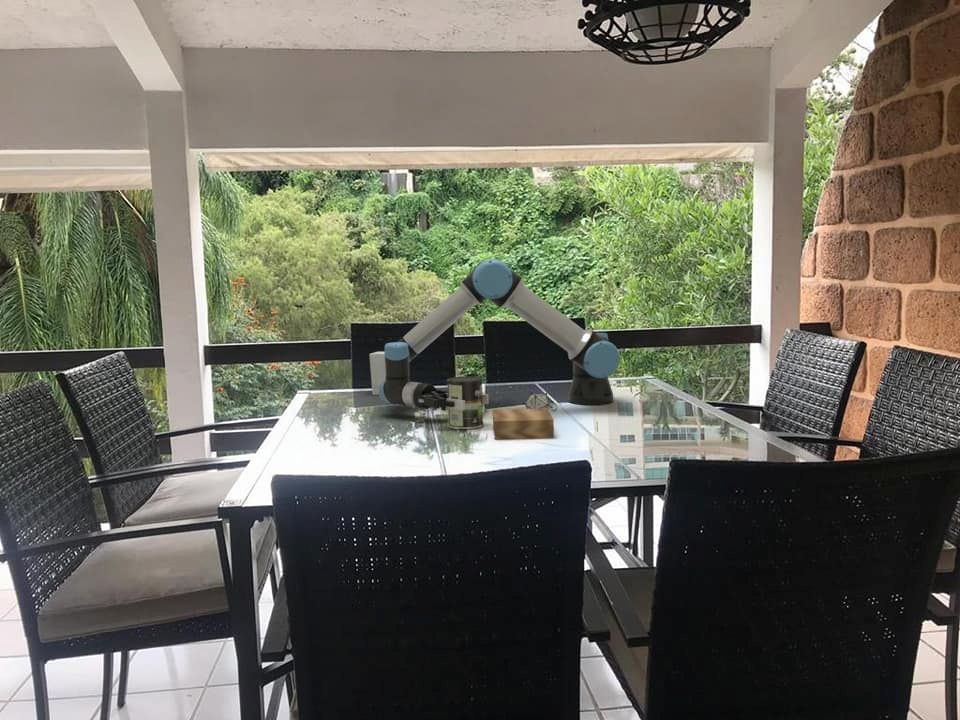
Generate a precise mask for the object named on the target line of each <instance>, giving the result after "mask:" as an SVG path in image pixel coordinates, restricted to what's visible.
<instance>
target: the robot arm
mask: <svg viewBox="0 0 960 720" xmlns="http://www.w3.org/2000/svg"><path fill="white" fill-rule="evenodd" d="M459 285H460V286H459V287H458V288H457V289H456V290H455V291H454V292H453V293H451V294H450V295H449V296H448V297H447V298H446V299H445V300H444V301H442V302H441V303H440V304H439V305H438V306H437V307H436V308H434V309H433V310H432V311H431V312H429V314H427V316H425V317H424V318H423V319H422V320H421V321H420V322H419V323H417V324H416V325H415V326H413V328H412V329H410V330H409V331H408V332H407V333H406V334H405V335H404V336H402V338H401V339H399V340H398V341H396V342H388V343H385V345H384V351H383V352H384V356H385V370H386V380H384V381H383V382H382V383H381V384H380V388H379V395H378V396H379V397H380V399H381V400H382V401H383V402H384V403H388V404H391V405H399V406H407V407H412V409H416V408H419V409H422V408H423V409H431V408H432V409H433V408H434V409H437V410H439V409H440V408H441V411H446V408H447V409H448V408H451V409H459V410H465V400H458V399H450V398H448V389H446V390H442V389H436V387H435V385H433V384H431V383H423V382H416V381H410V362H411V361H413V360H414V359H415V358H416V357H417V356H418V355H419V354H420V353H421V352H423V350H424V349H425V350H426V348H427V347H428V346H429V345H430V344H432V343H433V342H434V341H435V340H436V339H437V338H439V336H440V335H442V334H443V333H444V332H445V331H446V330H448V329H449V328H450V327H452V325H454V324H455V323H456V322H457V321H458V320H459V319H460V318H462V317H463V316H464V315H465V314H466V313H467V312H468V311H469V310H471V309H472V308H473V307H474V306H475V305H481V304H482V303H483V302H485V301H486V300H488V301H490V302H491V303H492V304H493V305H495V306H496V307H498V308H499V309H503V308H508V309H509V310H510V311H511V312H512V313H514V314H516V315H517V316H519V317H520V318H521V319H523V320H524V321H526V322H527V323H528V324H529V325H531V326H532V327H533V328H535V329H536V330H537V331H539V332H540V333H542V334H543V335H544V336H545V337H546V338H548V339H550V340H551V341H552V342H553V343H555V344H556V345H558V346H559V347H561V348H562V349H563V350H564V351H566V352H567V355H568V359H569V360H570V361H571V362H572V372H573V373H572V374H573V375H572V376H573V377H572V382H571V385H570V388H569V390H568V395H567V399H568V402H569V403H571V404H576V405H581V406H582V405H584V406H585V405H587V406H592V405H593V406H597V405H607V404H611V403H613V402H614V393H613V389H612V387H611V384H610V380H609V377H611V376H612V375H613V374H614V373H616V372H617V370H618V369H619V366H620V364H621V355H620V352H619V350H618V347H616V345H615V344H614V343H612V342H611V341H609V338H608V337H609V335H608V334H607V333H606V332H595V330H593V329H589V328H588V329H584V328H582V327H581V326H579V325H578V324H577V323H575V322H574V321H573V320H572V319H570V318H568V316H566V315H565V314H564V313H562V312H560V311H559V310H558V309H557V308H555V307H554V306H552V305H551V304H550V303H548V302H547V301H546V300H545V299H543V298H541V297H540V296H539V295H538V294H536V293H535V292H533V290H531V289H530V288H528V287H527V286H525V284H524V279H523V277H522V276H520V275H519V274H517V273H516V272H515V271H513V270H512V269H511V268H510V267H509V266H508V265H507V263H505V262H503V261H501V260H500V259H496V258H490V259H489V258H488V259H484V260H482V261H480V262H479V263H477V264H476V265H475V266H474V268H473V269H472V270H471V272H470V273H469V274H468V275H467V276H466V277H465V278H464V279H463V280H462V281H461V282H460V284H459ZM489 395H490V394H485V393H482V405H489V402H490V401H489V400H490V398H489V397H490V396H489Z"/></svg>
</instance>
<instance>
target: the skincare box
mask: <svg viewBox="0 0 960 720" xmlns="http://www.w3.org/2000/svg"><path fill="white" fill-rule="evenodd" d="M384 352H385V351H375V352H372V353H369V364H370V366H369V368H370V378H371V391H372V392H371V393H372V396H379V388H380V384H381V383H382V382H383V381H384V380H386V370H385V356H384Z"/></svg>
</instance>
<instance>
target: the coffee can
mask: <svg viewBox="0 0 960 720" xmlns="http://www.w3.org/2000/svg"><path fill="white" fill-rule="evenodd" d="M482 381H483V378H482V377H480V376H470V375H469V376H467V375H466V376H454V377H449V378H447V379H446V382H447V385H446V386H447V390H448V398H450V399H458V400H465V410H459V409H451V408H447V410H448V411H447V412H448V413H447V414H448V428H449V429H453V430H459V429H462V430H463V429H467V430H475V429H476V428H477V429H479V428H482V427H484V419H483V418H484V417H483V416H484V414H483V413H484V412H483V404H482V394H483V386H482V385H483V383H482Z"/></svg>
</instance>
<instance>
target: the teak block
mask: <svg viewBox="0 0 960 720" xmlns="http://www.w3.org/2000/svg"><path fill="white" fill-rule="evenodd" d="M554 422H555V421H554V418H553V416H552V414H551V412H550V410H548V408H545V409H527V408H519V409H518V408H516V409H513V408H512V409H493V410H492V427H493V435H494V436H495V437H494V436H493V437H494V440H520V439H521V440H522V439H524V440H527V439H554V436H555V431H554V430H555V429H554V428H555V426H554V425H555V424H554Z"/></svg>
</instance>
